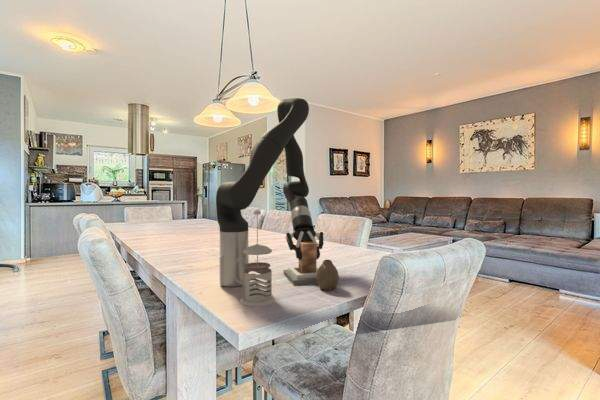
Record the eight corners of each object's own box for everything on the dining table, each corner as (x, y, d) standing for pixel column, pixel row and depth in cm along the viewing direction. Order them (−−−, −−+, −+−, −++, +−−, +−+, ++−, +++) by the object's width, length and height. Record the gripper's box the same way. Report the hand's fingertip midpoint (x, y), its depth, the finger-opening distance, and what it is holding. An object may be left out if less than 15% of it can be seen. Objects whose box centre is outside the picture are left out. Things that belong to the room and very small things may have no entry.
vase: (323, 293, 92) (324, 263, 91) (312, 286, 98) (312, 259, 97) (343, 289, 95) (343, 261, 94) (330, 283, 101) (330, 257, 101)
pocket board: (293, 285, 99) (293, 276, 99) (283, 274, 113) (283, 266, 113) (334, 281, 103) (334, 273, 103) (319, 271, 117) (319, 264, 117)
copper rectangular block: (302, 273, 105) (302, 244, 105) (298, 269, 110) (299, 241, 110) (316, 272, 106) (316, 243, 106) (312, 269, 111) (312, 241, 111)
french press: (279, 303, 83) (279, 210, 82) (236, 309, 79) (235, 211, 78) (270, 292, 92) (269, 208, 92) (230, 297, 88) (230, 209, 88)
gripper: (284, 214, 113) (289, 253, 102) (321, 213, 116) (331, 251, 105) (281, 227, 119) (286, 265, 107) (318, 226, 122) (326, 263, 110)
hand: (308, 258), depth 106 cm, fingers open, 5 cm apart
